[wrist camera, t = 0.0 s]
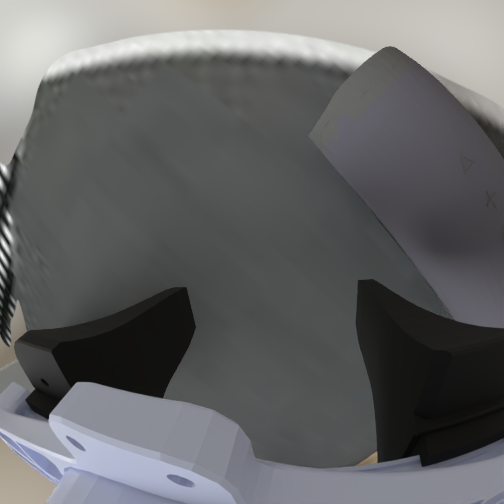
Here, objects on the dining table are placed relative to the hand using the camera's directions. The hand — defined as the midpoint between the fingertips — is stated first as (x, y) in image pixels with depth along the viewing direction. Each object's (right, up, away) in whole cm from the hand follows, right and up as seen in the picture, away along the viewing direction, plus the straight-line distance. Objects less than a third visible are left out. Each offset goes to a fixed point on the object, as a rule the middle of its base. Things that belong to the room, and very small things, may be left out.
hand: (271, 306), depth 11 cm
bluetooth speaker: (+14, +5, +8) cm, 17 cm away
